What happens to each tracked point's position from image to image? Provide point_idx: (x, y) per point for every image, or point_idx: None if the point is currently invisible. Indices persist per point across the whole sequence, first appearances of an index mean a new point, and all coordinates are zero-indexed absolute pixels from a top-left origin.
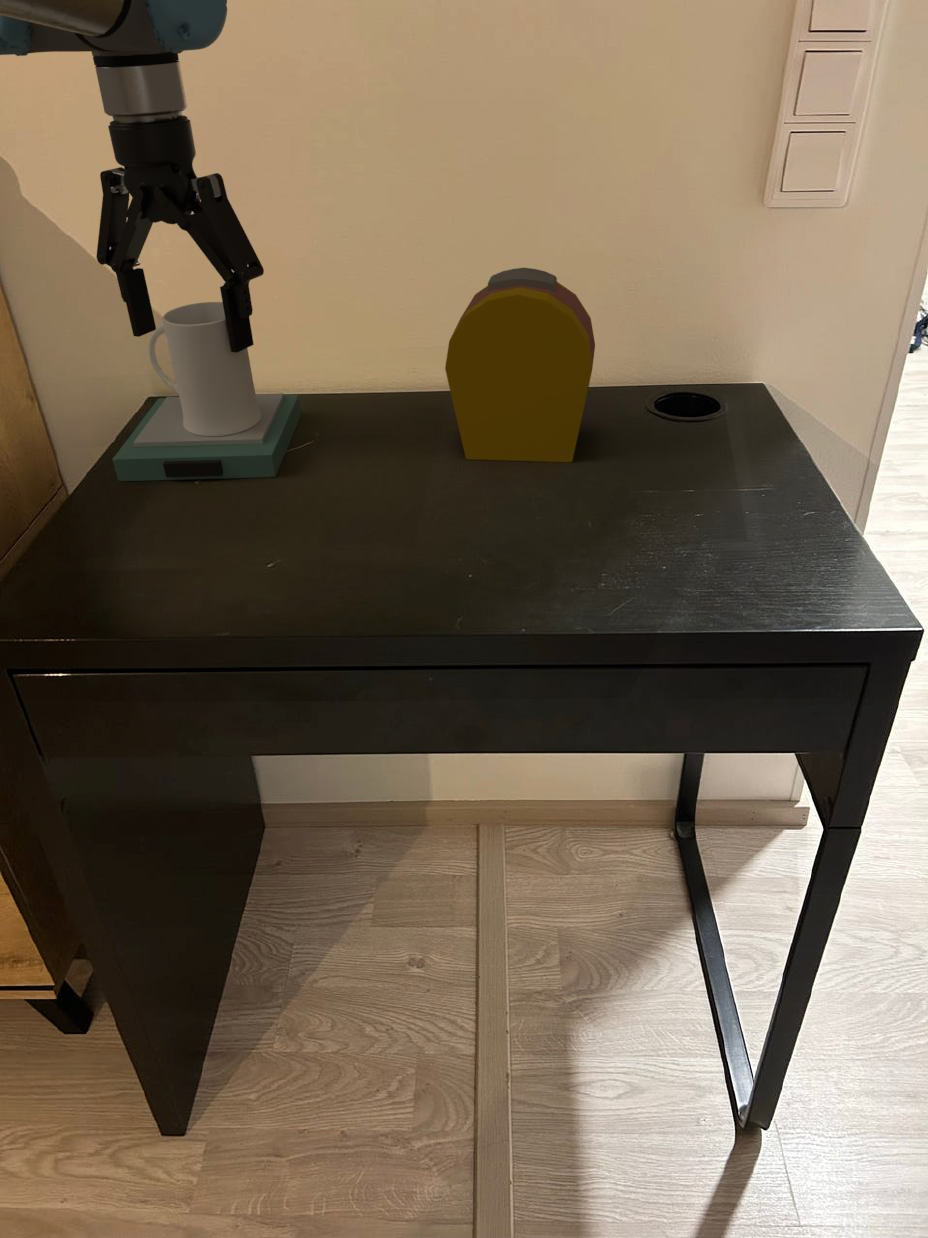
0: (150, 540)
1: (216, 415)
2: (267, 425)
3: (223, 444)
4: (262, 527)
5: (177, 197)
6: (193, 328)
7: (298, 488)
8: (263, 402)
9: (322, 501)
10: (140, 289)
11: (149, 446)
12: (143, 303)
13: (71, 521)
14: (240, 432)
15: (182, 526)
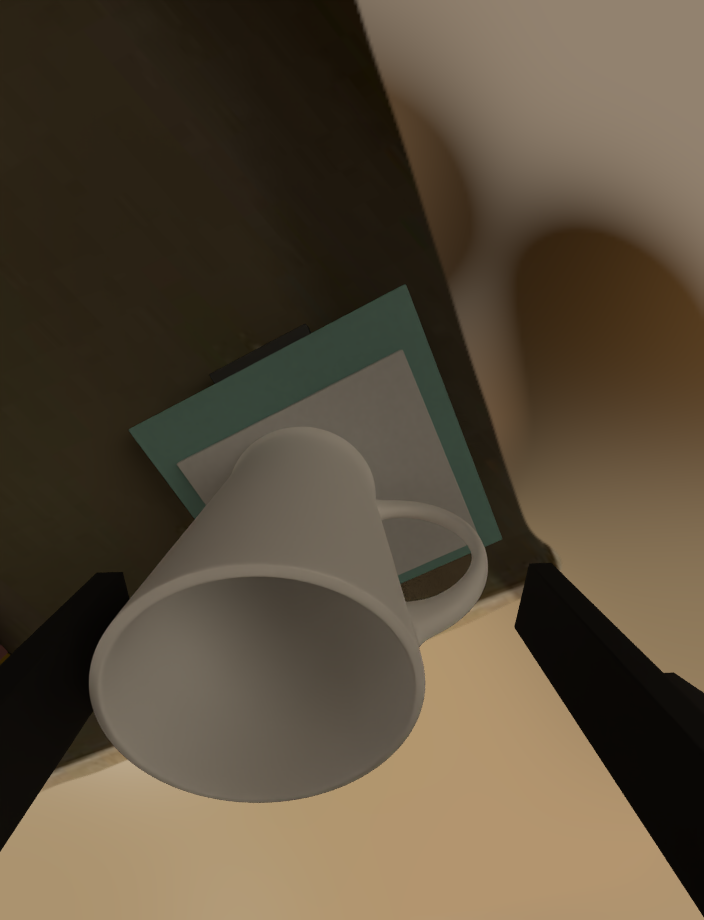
0: (154, 99)
1: (248, 456)
2: None
3: (243, 428)
4: (13, 247)
5: None
6: (165, 576)
7: (85, 402)
8: None
9: (9, 379)
10: (637, 765)
11: (372, 363)
12: (586, 695)
13: (363, 101)
14: None
15: (147, 183)
